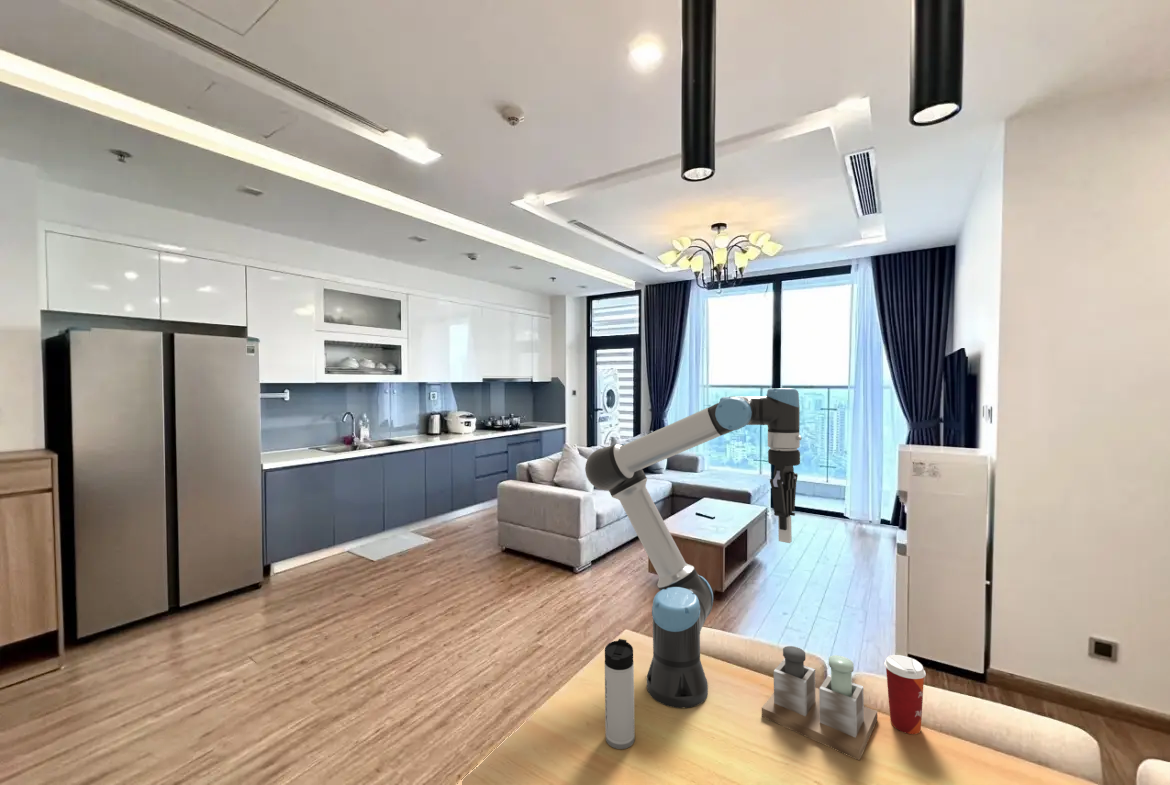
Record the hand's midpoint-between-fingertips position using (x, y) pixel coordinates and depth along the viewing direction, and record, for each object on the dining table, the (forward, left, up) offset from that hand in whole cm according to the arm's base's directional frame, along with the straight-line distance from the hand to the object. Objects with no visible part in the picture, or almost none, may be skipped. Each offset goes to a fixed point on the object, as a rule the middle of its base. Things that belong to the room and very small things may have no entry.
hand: (785, 541), depth 122 cm
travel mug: (-20, -43, -37) cm, 60 cm away
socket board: (+10, -8, -36) cm, 39 cm away
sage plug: (+15, -9, -32) cm, 37 cm away
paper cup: (+25, +2, -37) cm, 44 cm away
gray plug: (+5, -9, -34) cm, 35 cm away
